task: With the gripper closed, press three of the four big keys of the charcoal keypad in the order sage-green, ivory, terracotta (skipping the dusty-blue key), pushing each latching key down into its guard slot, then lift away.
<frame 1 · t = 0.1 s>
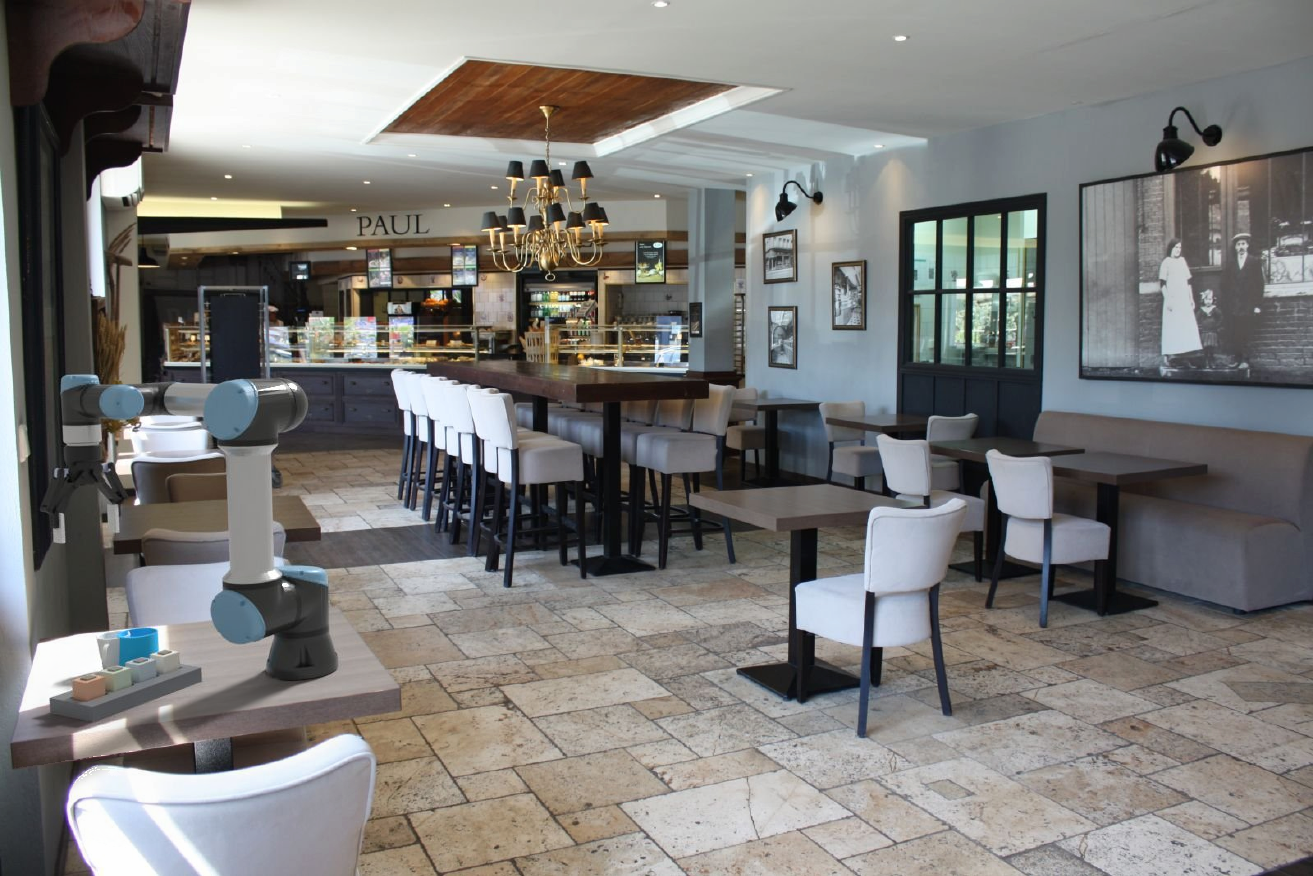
hand: (87, 537, 236), 28 cm above the table, fingers open, 13 cm apart
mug: (142, 667, 233), on the table, touching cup
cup: (112, 673, 228), on the table, touching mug
key blue: (140, 669, 216), point 5 cm above the table, slide at 0.0 cm
keypad: (129, 696, 214), on the table
key sage: (115, 677, 210), point 5 cm above the table, slide at 0.0 cm
key ivory: (164, 661, 221), point 5 cm above the table, slide at 0.0 cm
key terracotta: (88, 687, 205), point 5 cm above the table, slide at 0.0 cm
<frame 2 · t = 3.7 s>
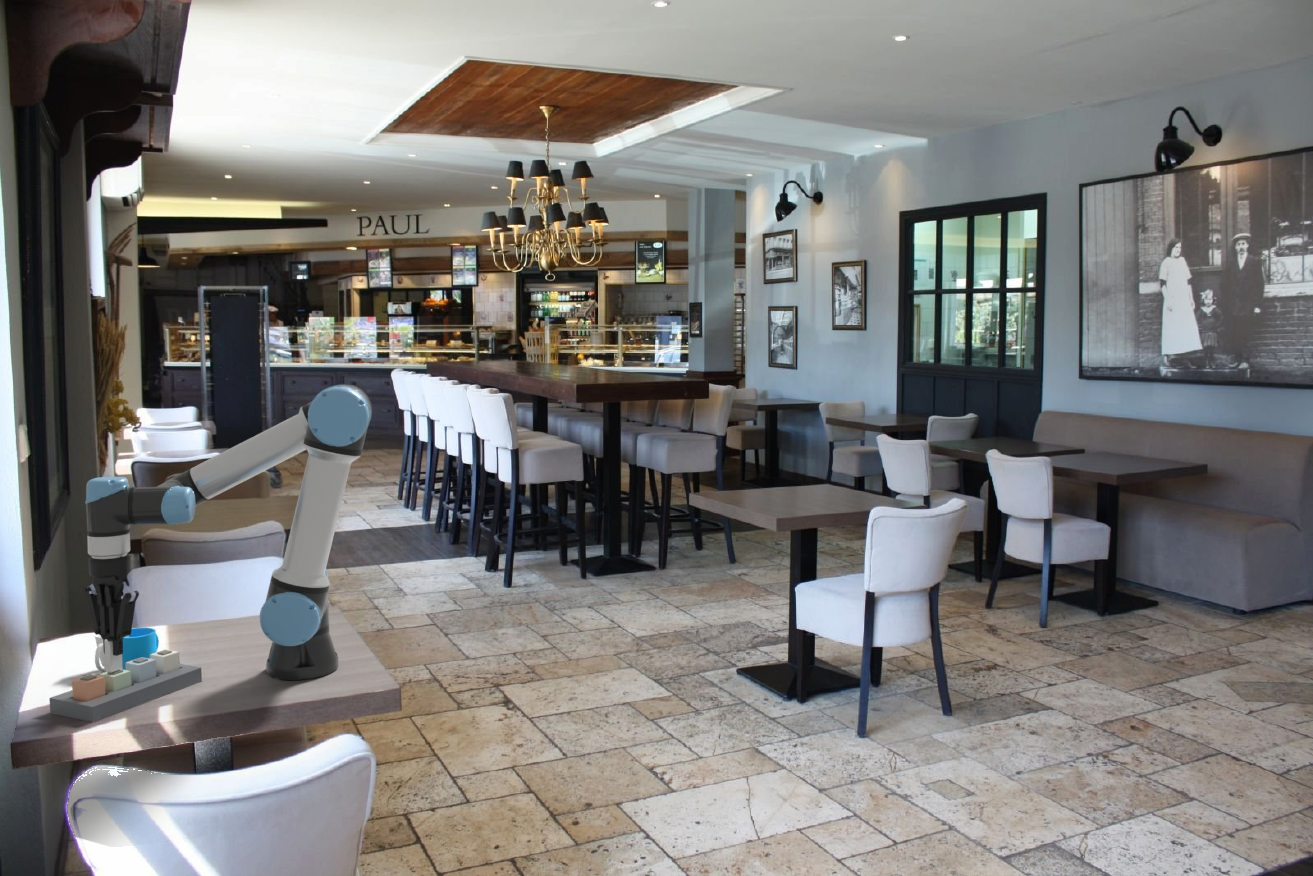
hand: (114, 670, 210), 6 cm above the table, fingers closed
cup: (110, 672, 229), on the table, touching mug
key sage: (115, 680, 210), point 4 cm above the table, slide at 0.6 cm, touching gripper
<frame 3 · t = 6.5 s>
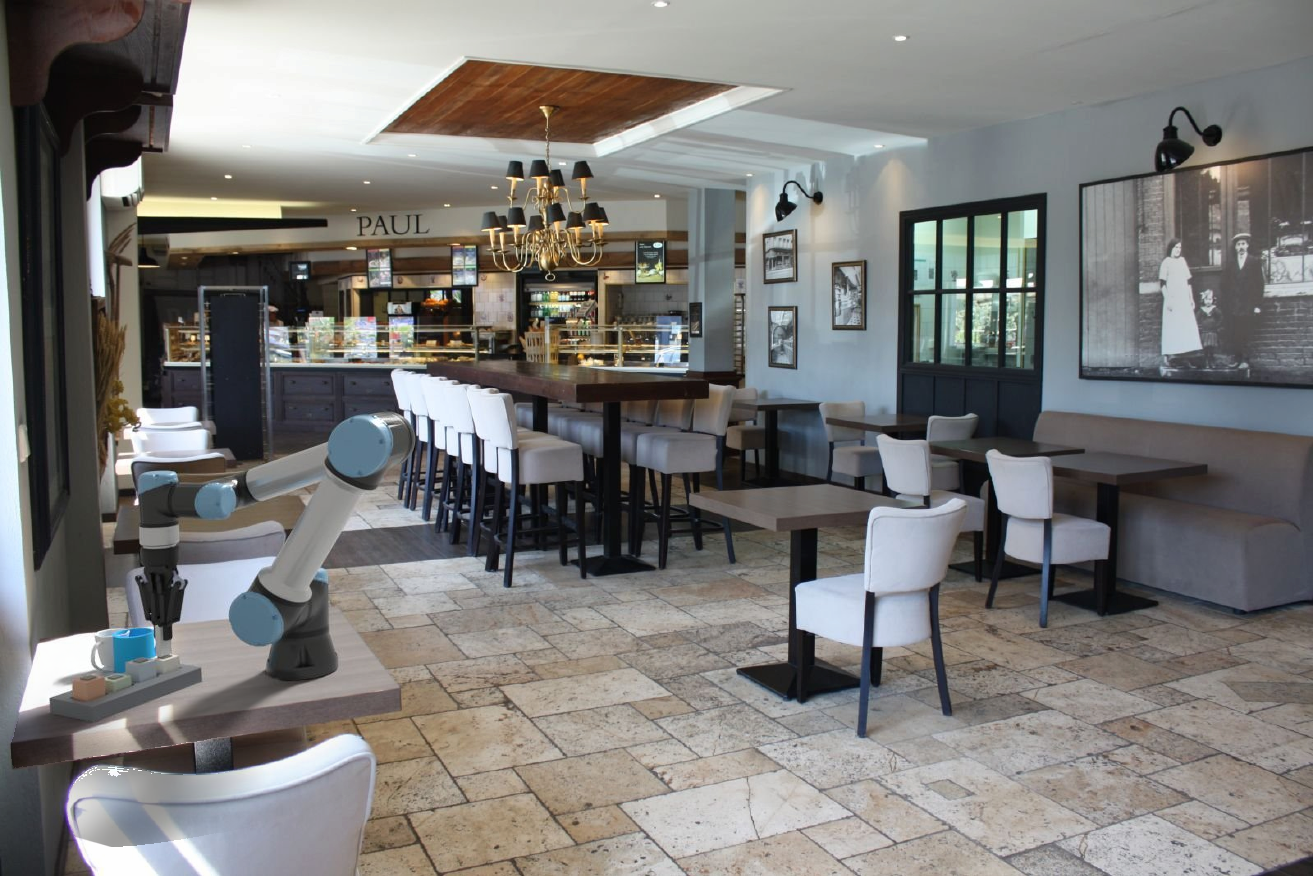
hand: (163, 654, 221), 6 cm above the table, fingers closed
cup: (108, 671, 230), on the table, touching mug
key sage: (115, 685, 211), point 3 cm above the table, slide at 1.6 cm
key ivory: (165, 665, 221), point 4 cm above the table, slide at 0.9 cm, touching gripper
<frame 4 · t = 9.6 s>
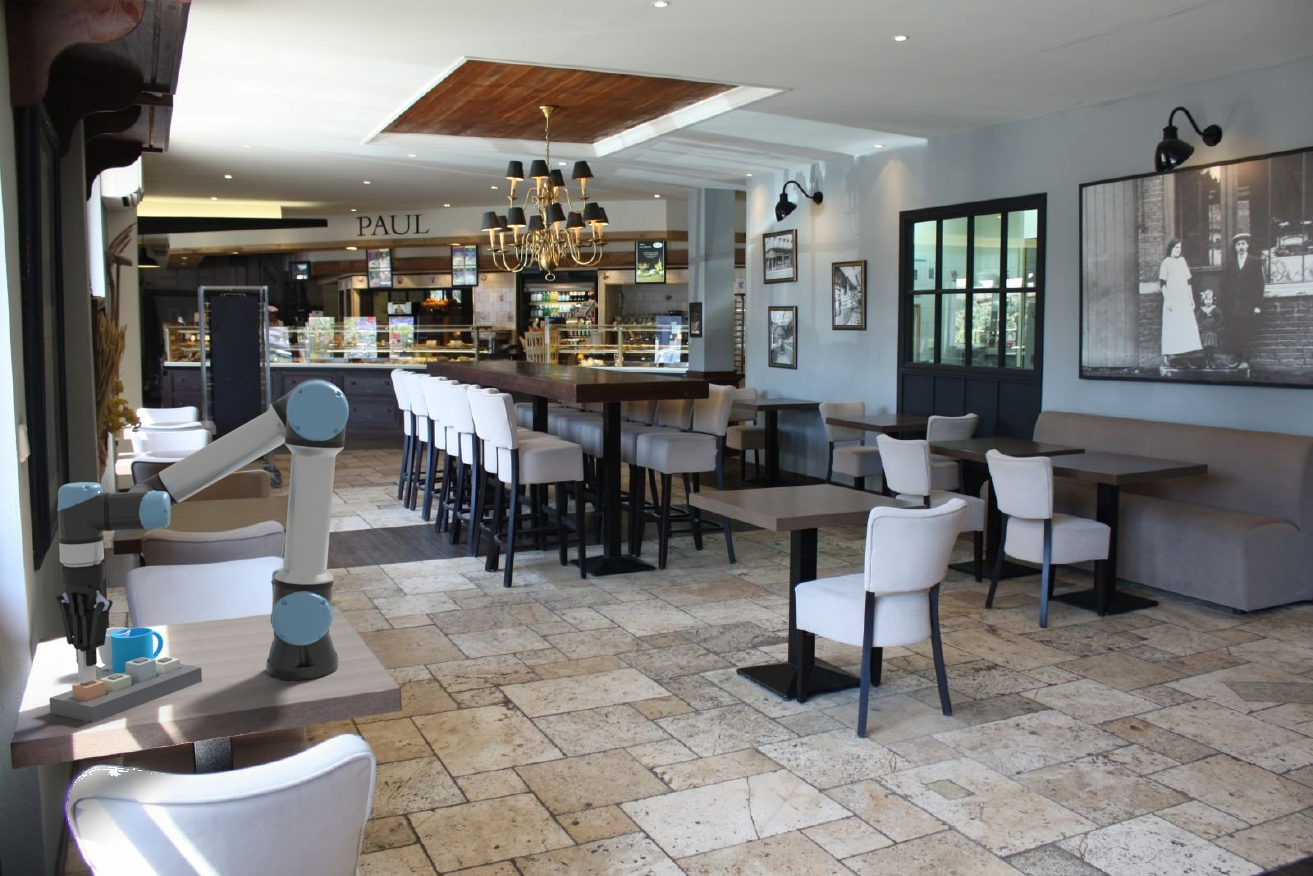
hand: (87, 680, 205), 6 cm above the table, fingers closed
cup: (108, 669, 231), on the table, touching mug
key ivory: (165, 668, 222), point 3 cm above the table, slide at 1.6 cm
key terracotta: (89, 692, 205), point 4 cm above the table, slide at 1.0 cm, touching gripper
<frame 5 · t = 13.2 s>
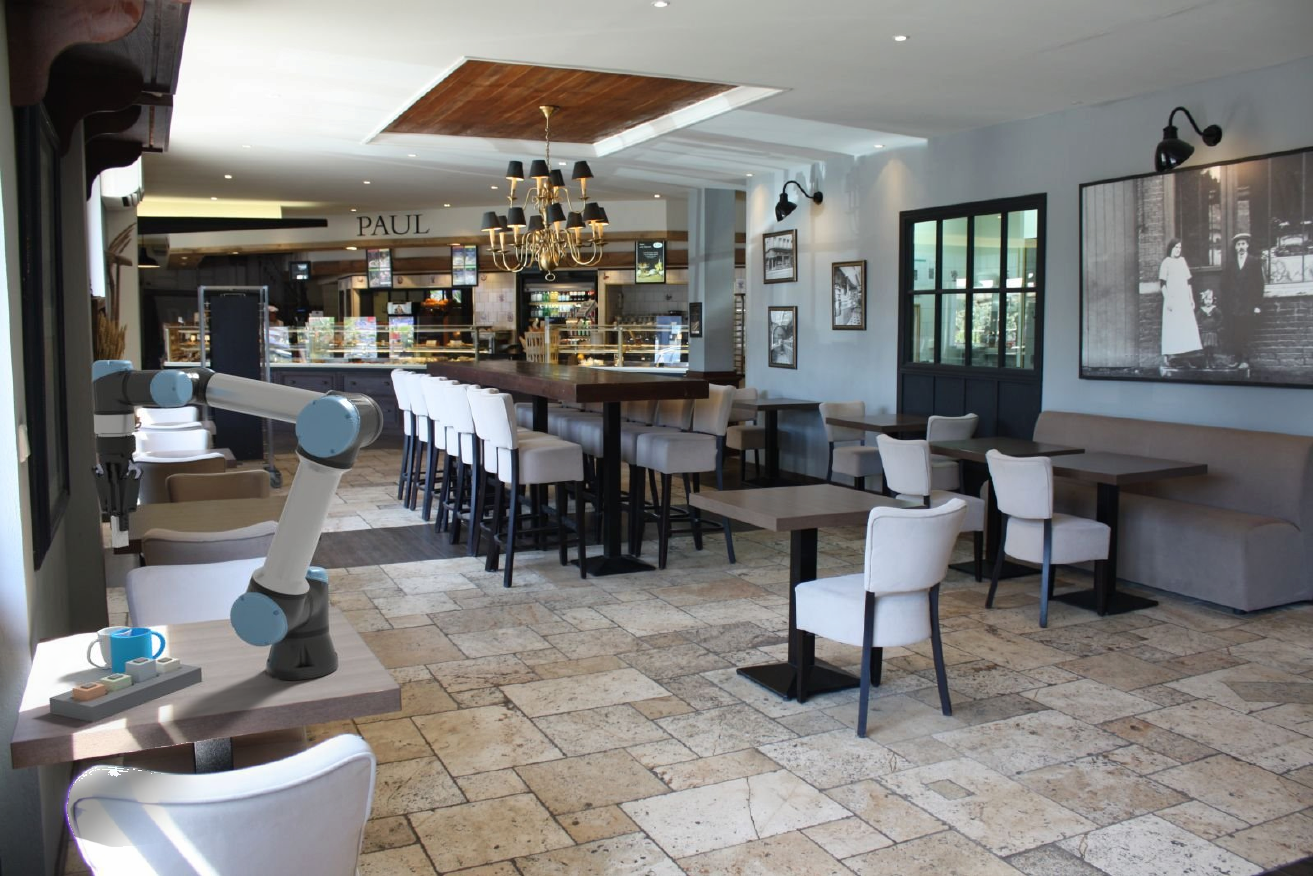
hand: (120, 546, 219), 29 cm above the table, fingers closed
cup: (109, 668, 232), on the table, touching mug
key terracotta: (89, 695, 205), point 3 cm above the table, slide at 1.6 cm
at the end: key sage slide at 1.6 cm; key ivory slide at 1.6 cm; key terracotta slide at 1.6 cm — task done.
